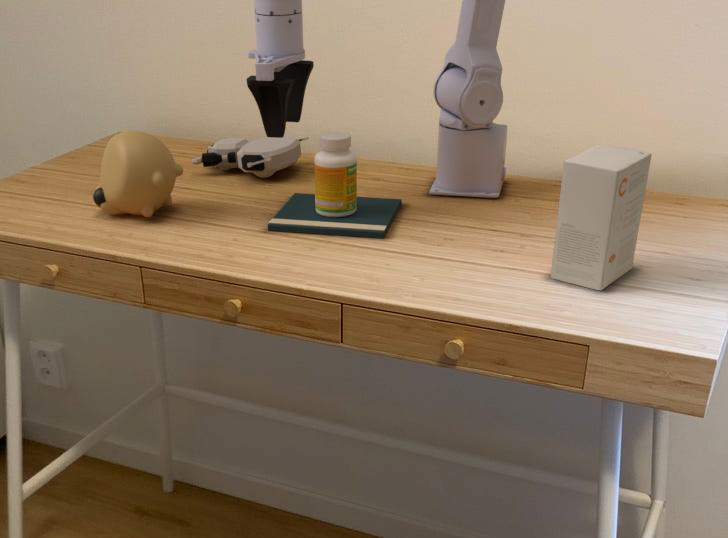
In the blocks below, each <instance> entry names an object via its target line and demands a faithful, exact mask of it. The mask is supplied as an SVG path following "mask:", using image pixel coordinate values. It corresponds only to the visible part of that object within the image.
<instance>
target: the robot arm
mask: <svg viewBox="0 0 728 538" xmlns="http://www.w3.org/2000/svg"><path fill="white" fill-rule="evenodd" d="M253 3H254V19H255V38H256V40H255V41H256V49H250V50H249V51H248V52H247V58H248V59H255V61H256V62H255V63H254V67H255V75H250V76H248V77H247V78H246V86H247V88H248V90H249V91H250V93H251V95H252V96H253V98H254V101H255V103H256V106H257V107H258V111H259V115H260V117H261V122H262V125H263V128H264V132H265V135H266V137H274V138H283V137H284V136H285V133H286V129H287V128H286V126H287V123H300V122H301V117H302V112H303V106H304V100H305V99H304V98H305V94H306V88H307V85H308V82H309V79H310V76H311V74H312V71H313V69H314V67H315V66H314V61H313V60H305V59H306V50H305V48H304V23H303V21H304V20H303V0H253ZM505 4H506V0H461V5H460V6H461V7H460V13H459V18H458V24H457V29H456V35H455V41H454V43H453V44H452V45H451V46H450V48H449V49H448V51H447V52H446V54H445V57H444V62H443V66H442V68H441V70H440V72H439V73H438V75H437V76H436V78H435V81H434V83H433V90H432V91H433V92H432V94H433V98H434V102H435V104H436V105H437V107H438V108H439V109H440V114H439V117H438V132H437V133H438V136H437V137H438V138H437V155H436V156H437V157H436V177H435V179H434V181H433V183H432V185H431V187H430V189H429V194H430V195H435V196H436V195H437V196H452V197H453V196H456V197H470V198H471V197H472V198H487V199H489V198H490V199H497V198H499V197H500V194H501V191H502V187H503V184H504V181H505V180H506V174H507V173H506V172H507V171H506V170H507V168H506V166H505V164H506V154H507V152H506V151H507V143H508V142H507V141H508V125H507V124H500V123H496V122H494V120H495V119H496V118H497V117H498V115H499V114H500V112H501V110H502V107H503V103H504V93H503V87H502V74H503V66H502V62H501V59H500V56H499V53H498V49H497V46H498V41H499V35H500V31H501V26H502V25H501V24H502V20H503V15H504V9H505Z"/></svg>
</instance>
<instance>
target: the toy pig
mask: <svg viewBox="0 0 728 538" xmlns="http://www.w3.org/2000/svg"><path fill="white" fill-rule="evenodd" d="M183 173H184V168H183V166H182V165H181V164H180V163H177V162H176V161H175V159H174V156H173V154H172V152H171V151H170V149H169V148H168V146H166V144H165V143H164V142H163V141H162V140H161V139H159V138H158V137H156V136H154V135H152V134H150V133H148V132H145V131H140V130H125V131H121V132H119V133H116V134H115V135H113V136H112V137H111V138H110V139H109V141H108V142H107V143H106V146H105V149H104V151H103V154H102V159H101V165H100V177H99V182H98V185H97V186H96V187H94V192H93V195H92V200H93V202H94V204H95V205H96V206H97V207H99V208H100V210H101V211H102V212H104V213H106V214H108V215H114V216H115V215H126V214H130V215H136V216H143V217H145V218H151V217H152V216H153V215H154V212H156V211H158V210H159V209H160V208H161V207H163V206H165V207H169V206H171V205H172V203H173V198H172V192H173V190H174V188H175V184H176V180H177V177H181V176H182V175H183Z"/></svg>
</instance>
